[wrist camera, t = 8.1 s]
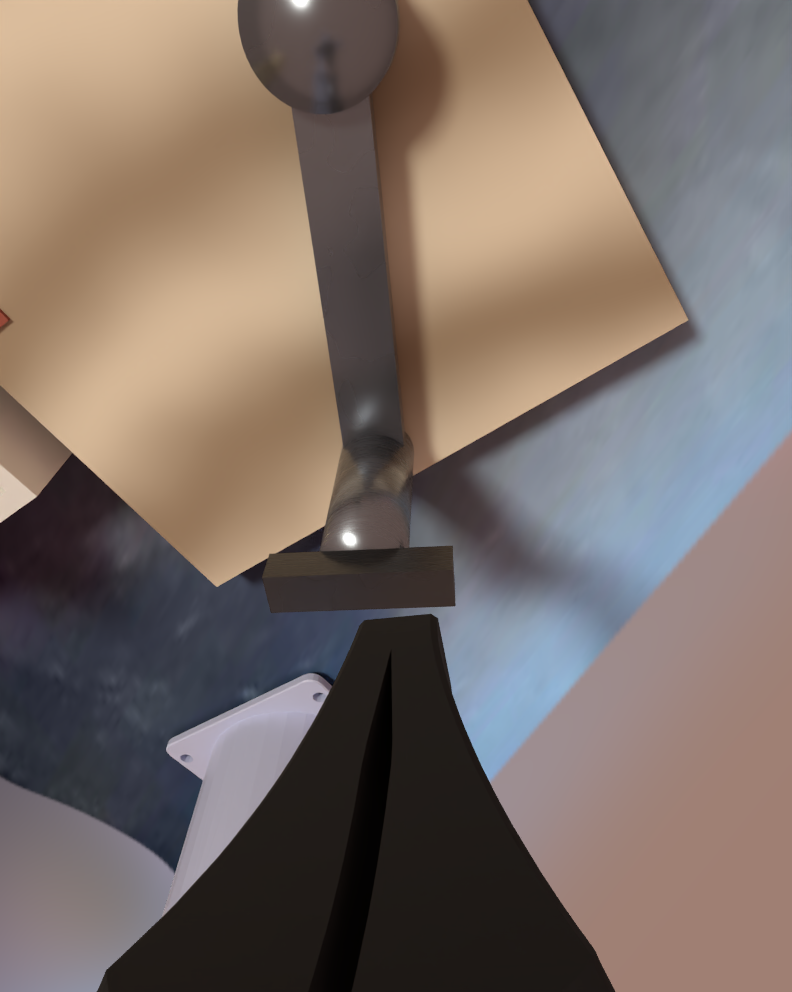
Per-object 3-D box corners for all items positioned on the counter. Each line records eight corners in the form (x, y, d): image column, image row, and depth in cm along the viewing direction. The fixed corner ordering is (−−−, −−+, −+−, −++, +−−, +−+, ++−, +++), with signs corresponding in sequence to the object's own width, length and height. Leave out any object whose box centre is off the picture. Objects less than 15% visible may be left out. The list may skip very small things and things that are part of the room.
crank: (211, -59, 14) (93, -90, 9) (419, -85, 14) (409, -131, 9) (312, 485, 21) (275, 629, 16) (452, 478, 21) (456, 623, 16)
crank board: (675, 303, 19) (689, 321, 18) (225, 563, 25) (215, 588, 24) (193, -648, 11) (166, -717, 10) (-304, 56, 17) (-354, 59, 16)
